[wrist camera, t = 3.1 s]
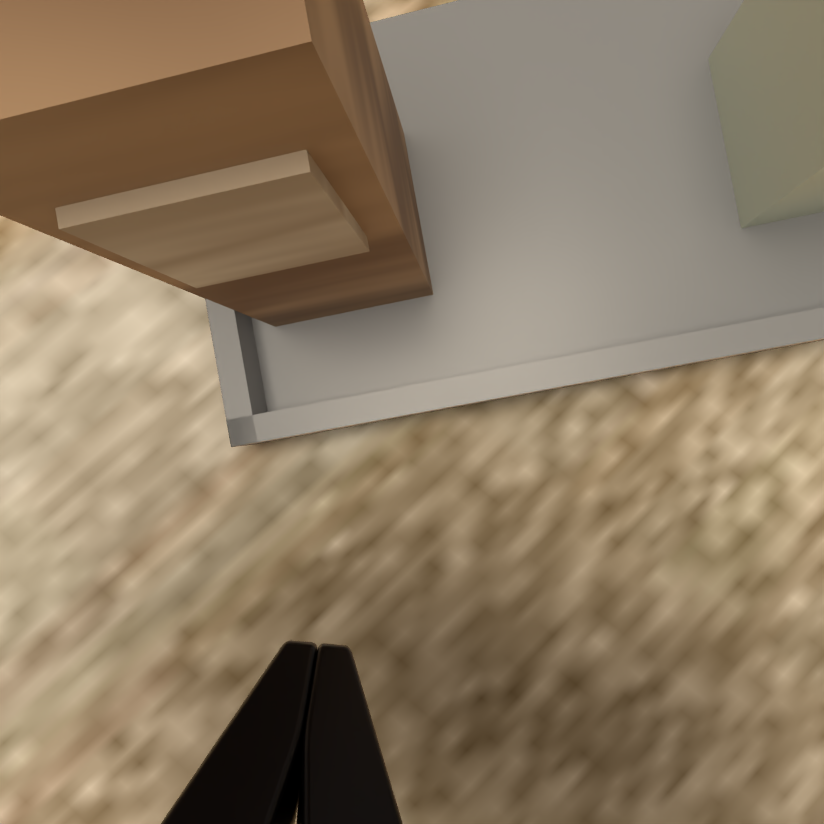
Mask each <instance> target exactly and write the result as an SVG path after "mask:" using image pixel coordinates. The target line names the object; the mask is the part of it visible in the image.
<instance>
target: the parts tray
mask: <svg viewBox="0 0 824 824" xmlns="http://www.w3.org/2000/svg"><path fill="white" fill-rule="evenodd" d="M743 1H744V0H458V1H454V2H450V3H446V4H442V5H438V6H434V7H430V8H426V9H422V10H418V11H414V12H410V13H406V14H402V15H398V16H394V17H390V18H386V19H382V20H378V21H375V22H371V23H370V25H371V28H372V31H373V35H374V38H375V41H376V44H377V48H378V51H379V54H380V57H381V60H382V64H383V67H384V70H385V73H386V77H387V80H388V83H389V86H390V90H391V93H392V96H393V99H394V103H395V106H396V109H397V112H398V115H399V119H400V122H401V125H402V128H403V132H404V136H405V142H406V147H407V153H408V158H409V164H410V169H411V174H412V180H413V185H414V191H415V196H416V202H417V207H418V213H419V218H420V224H421V229H422V235H423V240H424V246H425V251H426V257H427V262H428V268H429V273H430V279H431V284H432V290H433V295H429V296H424V297H419V298H414V299H409V300H404V301H399V302H395V303H390V304H385V305H380V306H375V307H370V308H365V309H360V310H355V311H350V312H345V313H340V314H335V315H330V316H326V317H321V318H316V319H311V320H306V321H301V322H296V323H291V324H286V325H281V326H276V327H274V326H272V325H269V324H267V323H265V322H262V321H260V320H257V319H255V318H252V317H250V316H247V315H245V314H242V313H240V312H237V311H235V310H232V309H230V308H228V307H225V306H223V305H220V304H218V303H215V302H213V301H210V300H208V299H205V300H206V306H207V312H208V318H209V323H210V329H211V335H212V341H213V346H214V352H215V358H216V364H217V369H218V375H219V381H220V387H221V392H222V398H223V404H224V409H225V415H226V421H227V427H228V432H229V438H230V444H231V447H236V446H244V445H251V444H258V443H263V442H269V441H274V440H280V439H285V438H291V437H296V436H302V435H307V434H313V433H318V432H323V431H329V430H334V429H340V428H345V427H351V426H356V425H362V424H367V423H373V422H378V421H384V420H389V419H394V418H400V417H405V416H411V415H416V414H422V413H427V412H433V411H438V410H444V409H449V408H454V407H460V406H465V405H471V404H476V403H482V402H487V401H493V400H498V399H504V398H509V397H515V396H520V395H525V394H531V393H536V392H542V391H547V390H553V389H558V388H564V387H569V386H575V385H580V384H585V383H591V382H596V381H602V380H607V379H613V378H618V377H624V376H629V375H635V374H640V373H646V372H651V371H656V370H662V369H667V368H673V367H678V366H684V365H689V364H695V363H700V362H706V361H711V360H716V359H722V358H727V357H733V356H738V355H744V354H749V353H755V352H760V351H766V350H771V349H776V348H782V347H787V346H793V345H798V344H804V343H809V342H815V341H820V340H824V212H820V213H815V214H810V215H805V216H800V217H795V218H790V219H785V220H780V221H775V222H771V223H766V224H761V225H756V226H751V227H746V228H741V225H740V220H739V215H738V210H737V205H736V200H735V195H734V189H733V184H732V179H731V174H730V169H729V164H728V158H727V153H726V148H725V143H724V138H723V133H722V128H721V122H720V117H719V112H718V107H717V102H716V97H715V92H714V86H713V81H712V76H711V71H710V66H709V61H708V58H709V57H710V55H711V53H712V52H713V50H714V49H715V47H716V45H717V44H718V42H719V40H720V39H721V37H722V35H723V34H724V32H725V31H726V29H727V27H728V26H729V24H730V22H731V21H732V19H733V17H734V16H735V14H736V13H737V11H738V9H739V8H740V6H741V4H742V3H743Z"/></svg>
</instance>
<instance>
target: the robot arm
mask: <svg viewBox="0 0 824 824" xmlns="http://www.w3.org/2000/svg"><path fill="white" fill-rule="evenodd" d="M297 807H298V812H297ZM296 813H297V824H402V820H401V817H400V814H399V810H398V807H397V803H396V800H395V797H394V793H393V790H392V786H391V783H390V780H389V776H388V773H387V770H386V766H385V763H384V759H383V756H382V753H381V749H380V746H379V743H378V739H377V736H376V732H375V729H374V726H373V722H372V719H371V715H370V712H369V709H368V705H367V702H366V699H365V695H364V692H363V688H362V685H361V682H360V678H359V675H358V671H357V668H356V665H355V661H354V658H353V655H352V652H351V650H350V648H349V647H347V646H344V645H334V644H321V645H320V646H319V647H318V650H317V646H316V644H315V643H312V642H303V641H293V640H290V641H287V642H285V643H284V644H283V645H282V647H281V648H280V649H279V651H278V652H277V654H276V655H275V657H274V658H273V660H272V661H271V663H270V664H269V666H268V667H267V669H266V670H265V672H264V673H263V674H262V676H261V677H260V679H259V680H258V682H257V683H256V685H255V686H254V688H253V689H252V691H251V692H250V694H249V695H248V696H247V698H246V699H245V701H244V702H243V704H242V705H241V707H240V708H239V710H238V711H237V713H236V714H235V716H234V717H233V718H232V720H231V721H230V723H229V724H228V726H227V727H226V729H225V730H224V732H223V733H222V735H221V736H220V738H219V739H218V741H217V742H216V743H215V745H214V746H213V748H212V749H211V751H210V752H209V754H208V755H207V757H206V758H205V760H204V761H203V763H202V764H201V765H200V767H199V768H198V770H197V771H196V773H195V774H194V776H193V777H192V779H191V780H190V782H189V783H188V785H187V786H186V788H185V789H184V790H183V792H182V793H181V795H180V796H179V798H178V799H177V801H176V802H175V804H174V805H173V807H172V808H171V810H170V811H169V812H168V814H167V815H166V817H165V818H164V820H163V821H162V823H161V824H295V819H296Z"/></svg>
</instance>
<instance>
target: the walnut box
mask: <svg viewBox="0 0 824 824" xmlns="http://www.w3.org/2000/svg"><path fill="white" fill-rule="evenodd" d="M0 215H1V216H3V217H6V218H8V219H11V220H13V221H16V222H18V223H21V224H23V225H26V226H28V227H31V228H33V229H35V230H38V231H40V232H43V233H45V234H48V235H50V236H53V237H55V238H58V239H60V240H63V241H65V242H67V243H70V244H72V245H75V246H77V247H80V248H82V249H85V250H87V251H90V252H92V253H95V254H97V255H99V256H102V257H104V258H107V259H109V260H112V261H114V262H117V263H119V264H122V265H124V266H127V267H129V268H131V269H134V270H136V271H139V272H141V273H144V274H146V275H149V276H151V277H154V278H156V279H159V280H161V281H164V282H166V283H168V284H171V285H173V286H176V287H178V288H181V289H183V290H186V291H188V292H191V293H193V294H196V295H198V296H200V297H203V298H205V299H208V300H210V301H213V302H215V303H218V304H220V305H223V306H225V307H228V308H230V309H232V310H235V311H237V312H240V313H242V314H245V315H247V316H250V317H252V318H255V319H257V320H260V321H262V322H265V323H267V324H269V325H272V326H274V327H276V326H281V325H286V324H291V323H296V322H301V321H306V320H311V319H316V318H321V317H326V316H330V315H335V314H340V313H345V312H350V311H355V310H360V309H365V308H370V307H375V306H380V305H385V304H390V303H395V302H399V301H404V300H409V299H414V298H419V297H424V296H429V295H433V290H432V284H431V279H430V273H429V268H428V262H427V257H426V251H425V246H424V240H423V235H422V229H421V224H420V218H419V213H418V207H417V202H416V196H415V191H414V185H413V180H412V174H411V169H410V164H409V158H408V153H407V147H406V142H405V136H404V132H403V128H402V125H401V122H400V119H399V115H398V112H397V109H396V106H395V103H394V99H393V96H392V93H391V90H390V86H389V83H388V80H387V77H386V73H385V70H384V67H383V64H382V60H381V57H380V54H379V51H378V48H377V44H376V41H375V38H374V35H373V31H372V28H371V25H370V22H369V18H368V15H367V12H366V9H365V6H364V2H363V0H0Z"/></svg>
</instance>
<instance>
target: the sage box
mask: <svg viewBox="0 0 824 824" xmlns="http://www.w3.org/2000/svg"><path fill="white" fill-rule="evenodd" d="M708 61H709V66H710V71H711V76H712V81H713V86H714V92H715V97H716V102H717V107H718V112H719V117H720V122H721V128H722V133H723V138H724V143H725V148H726V153H727V158H728V164H729V169H730V174H731V179H732V184H733V189H734V195H735V200H736V205H737V210H738V215H739V220H740V225H741V228H746V227H751V226H756V225H761V224H766V223H771V222H775V221H780V220H785V219H790V218H795V217H800V216H805V215H810V214H815V213H820V212H824V0H744V1H743V3H742V4H741V6H740V8H739V9H738V11H737V13H736V14H735V16H734V17H733V19H732V21H731V22H730V24H729V26H728V27H727V29H726V31H725V32H724V34H723V35H722V37H721V39H720V40H719V42H718V44H717V45H716V47H715V49H714V50H713V52H712V53H711V55H710V57H709V58H708Z"/></svg>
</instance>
